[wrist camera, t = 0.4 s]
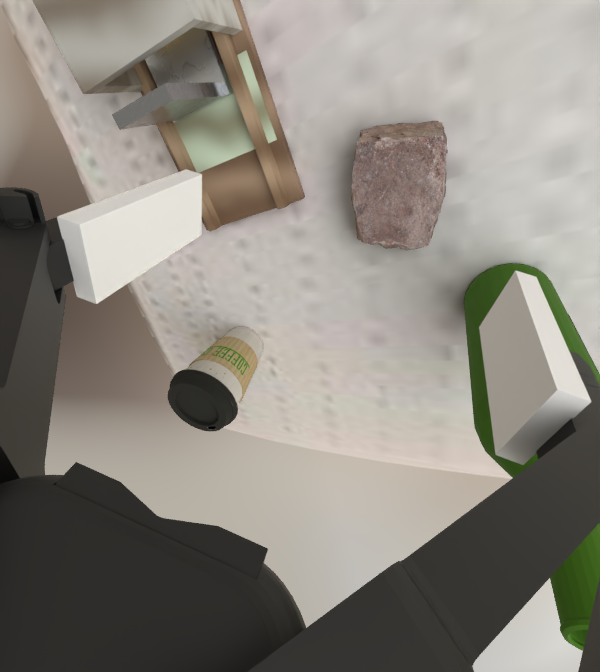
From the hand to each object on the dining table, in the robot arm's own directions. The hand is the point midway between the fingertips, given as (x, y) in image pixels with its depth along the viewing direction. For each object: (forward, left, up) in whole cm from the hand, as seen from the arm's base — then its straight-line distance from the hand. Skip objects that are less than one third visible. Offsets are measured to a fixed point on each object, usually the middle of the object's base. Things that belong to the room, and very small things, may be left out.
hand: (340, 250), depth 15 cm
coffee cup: (+32, -15, -28) cm, 45 cm away
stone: (+3, +1, -28) cm, 28 cm away
